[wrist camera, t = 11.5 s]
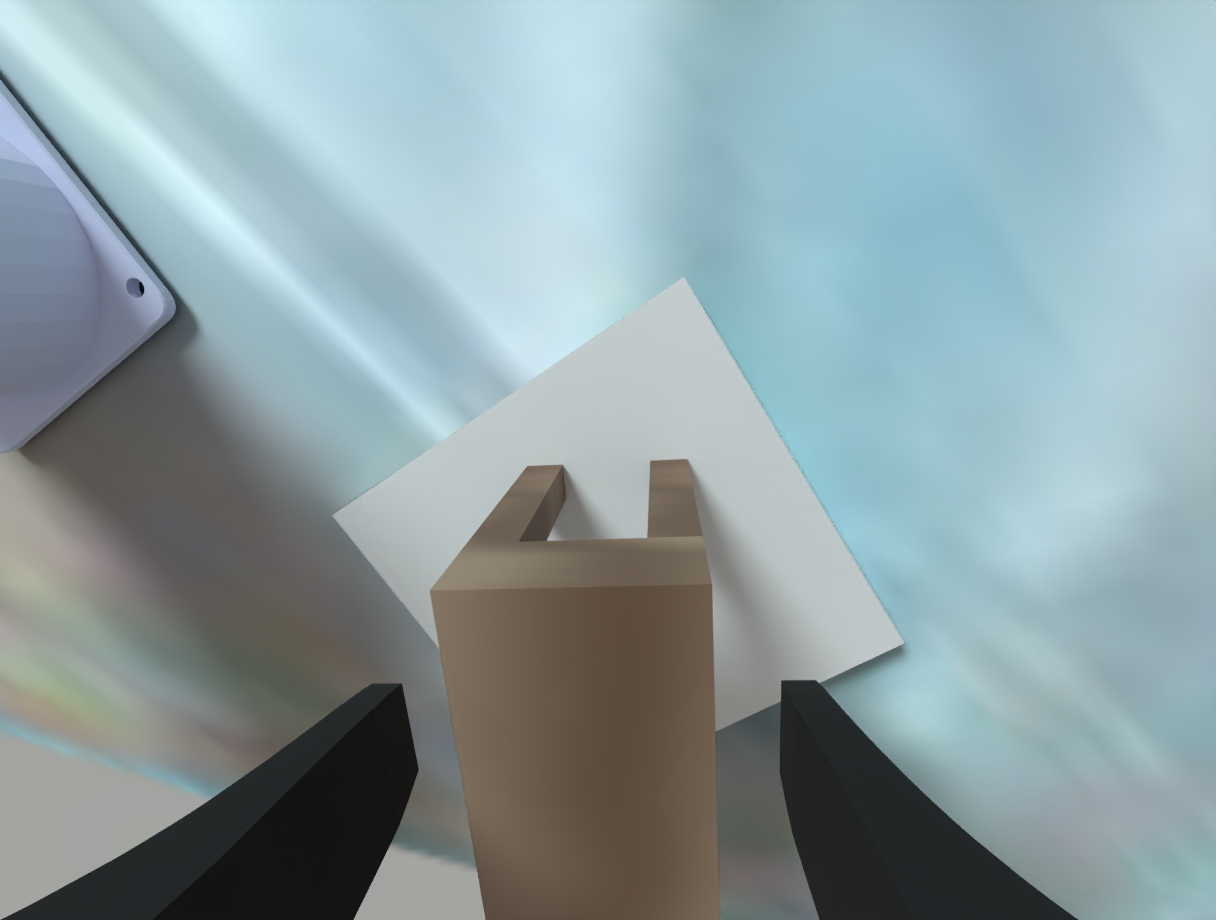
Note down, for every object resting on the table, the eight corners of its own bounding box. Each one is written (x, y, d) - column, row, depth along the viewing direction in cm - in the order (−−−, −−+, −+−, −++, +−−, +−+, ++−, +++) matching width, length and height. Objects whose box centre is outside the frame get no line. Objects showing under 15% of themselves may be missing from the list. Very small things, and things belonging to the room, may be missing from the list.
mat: (346, 505, 17) (332, 515, 16) (682, 277, 15) (684, 276, 14) (566, 783, 19) (563, 803, 19) (893, 627, 17) (904, 643, 16)
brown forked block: (551, 682, 17) (486, 921, 11) (527, 466, 16) (429, 590, 9) (694, 681, 17) (719, 929, 10) (687, 458, 15) (712, 584, 8)
